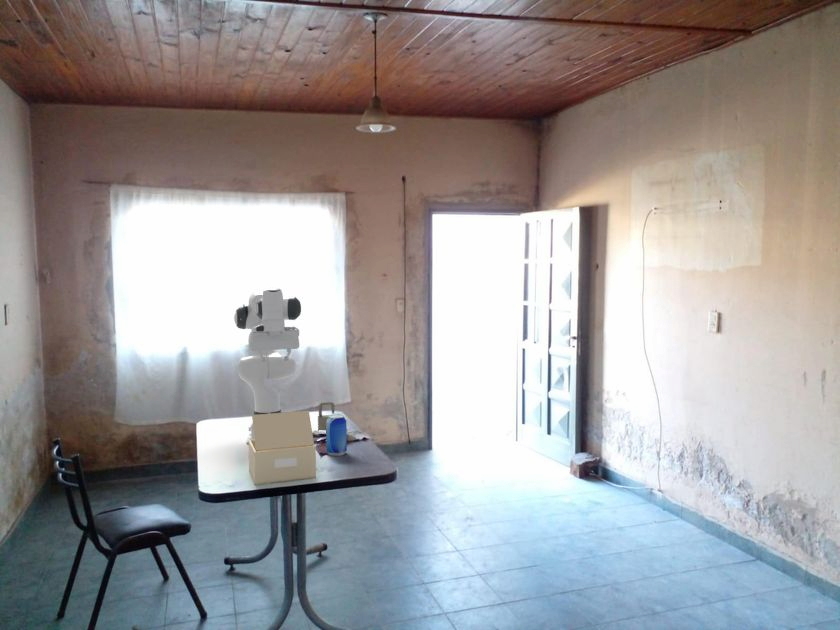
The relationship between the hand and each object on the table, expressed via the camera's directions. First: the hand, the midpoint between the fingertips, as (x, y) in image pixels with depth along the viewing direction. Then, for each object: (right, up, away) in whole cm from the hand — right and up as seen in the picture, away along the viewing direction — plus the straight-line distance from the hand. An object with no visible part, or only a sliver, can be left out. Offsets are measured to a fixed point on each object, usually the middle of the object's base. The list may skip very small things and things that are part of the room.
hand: (274, 361), depth 272 cm
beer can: (+25, -39, +6) cm, 47 cm away
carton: (+7, -41, -22) cm, 47 cm away
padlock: (+16, -37, +40) cm, 57 cm away
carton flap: (+9, -24, -27) cm, 37 cm away
